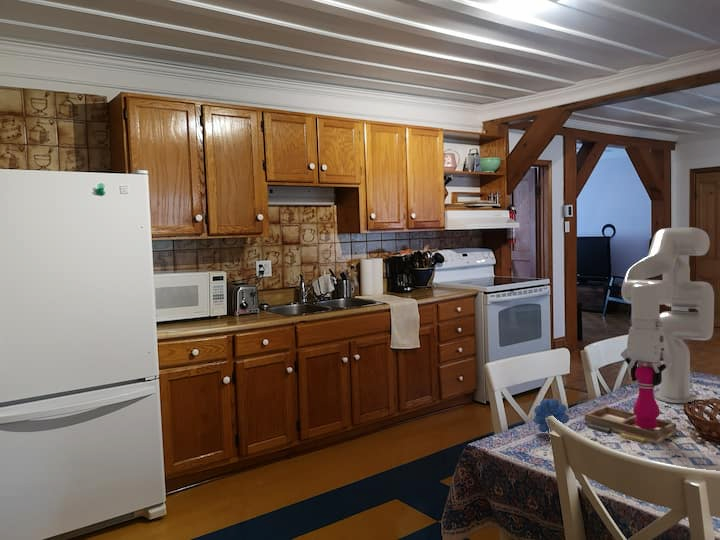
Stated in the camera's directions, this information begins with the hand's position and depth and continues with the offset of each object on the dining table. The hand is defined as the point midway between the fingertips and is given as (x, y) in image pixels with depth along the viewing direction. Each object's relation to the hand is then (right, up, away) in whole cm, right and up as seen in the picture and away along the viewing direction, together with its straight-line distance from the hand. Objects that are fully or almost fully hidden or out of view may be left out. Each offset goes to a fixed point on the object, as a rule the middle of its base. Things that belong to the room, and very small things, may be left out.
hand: (646, 381), depth 173 cm
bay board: (-4, -16, +5) cm, 17 cm away
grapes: (-27, -17, +3) cm, 32 cm away
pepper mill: (+1, -14, +1) cm, 14 cm away
